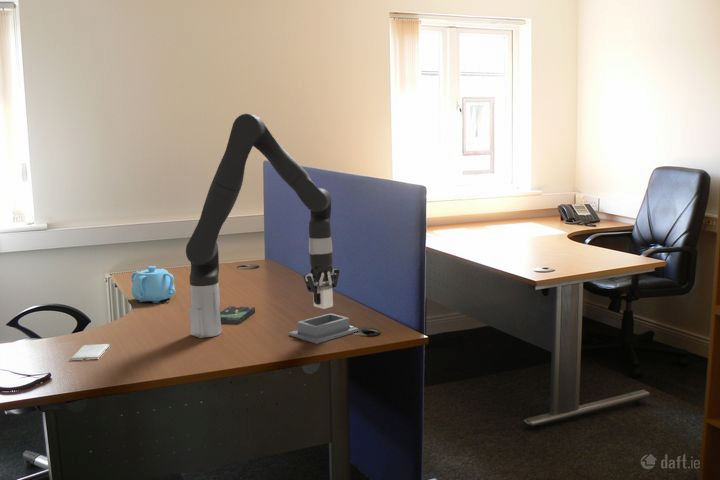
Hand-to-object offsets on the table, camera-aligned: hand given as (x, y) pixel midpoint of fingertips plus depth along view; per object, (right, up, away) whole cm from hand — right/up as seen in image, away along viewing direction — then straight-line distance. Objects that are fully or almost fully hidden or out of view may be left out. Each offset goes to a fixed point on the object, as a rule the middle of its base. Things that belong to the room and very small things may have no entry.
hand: (323, 302), depth 244 cm
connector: (0, -1, 0) cm, 1 cm away
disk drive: (-33, -8, +25) cm, 42 cm away
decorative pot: (-70, -4, +55) cm, 89 cm away
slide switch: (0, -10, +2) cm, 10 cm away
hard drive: (-71, -15, -13) cm, 74 cm away
